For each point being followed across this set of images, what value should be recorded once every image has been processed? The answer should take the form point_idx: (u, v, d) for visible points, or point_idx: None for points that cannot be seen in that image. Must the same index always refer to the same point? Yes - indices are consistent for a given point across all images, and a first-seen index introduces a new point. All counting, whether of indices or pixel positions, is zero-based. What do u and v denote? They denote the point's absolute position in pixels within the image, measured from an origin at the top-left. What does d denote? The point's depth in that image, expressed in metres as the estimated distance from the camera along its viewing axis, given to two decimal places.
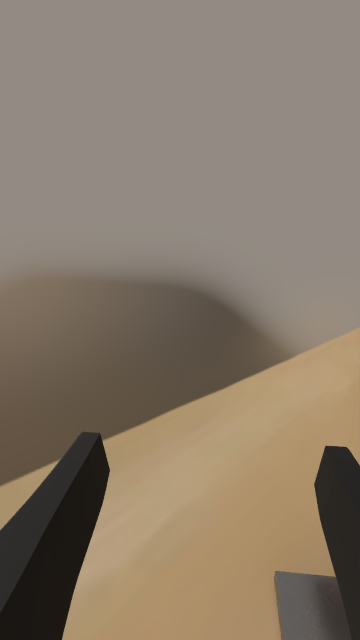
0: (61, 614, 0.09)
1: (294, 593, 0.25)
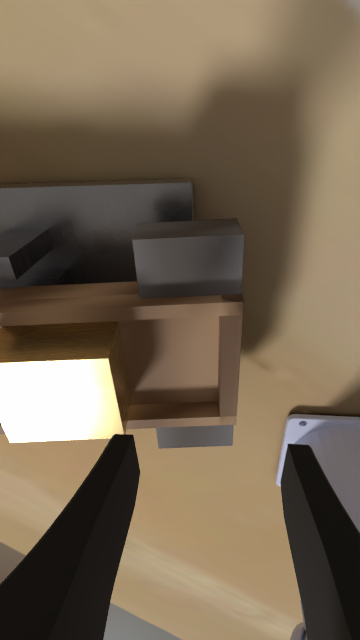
0: (102, 619, 0.09)
1: None
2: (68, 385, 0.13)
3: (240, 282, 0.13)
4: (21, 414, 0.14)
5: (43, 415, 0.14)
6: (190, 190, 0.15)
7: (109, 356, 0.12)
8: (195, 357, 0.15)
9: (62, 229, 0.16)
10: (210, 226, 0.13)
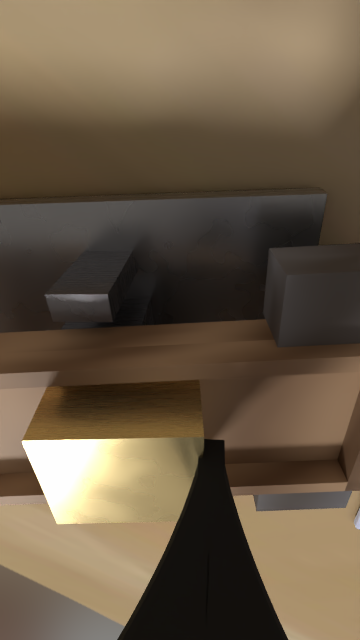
0: None
1: None
2: (143, 466, 0.10)
3: None
4: (77, 495, 0.11)
5: (105, 497, 0.11)
6: (324, 203, 0.12)
7: (203, 432, 0.09)
8: (323, 411, 0.12)
9: (150, 251, 0.13)
10: None
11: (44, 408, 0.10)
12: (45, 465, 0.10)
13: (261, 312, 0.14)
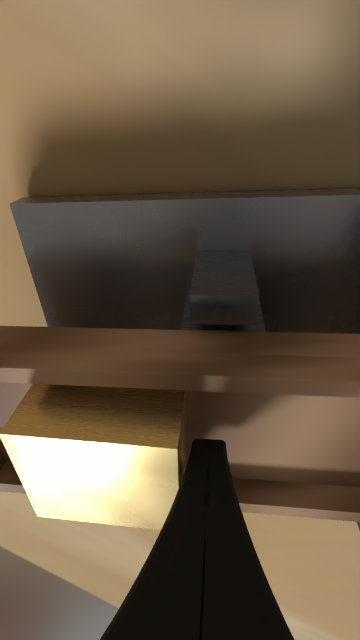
0: None
1: None
2: (118, 471, 0.10)
3: None
4: (54, 492, 0.11)
5: (81, 496, 0.11)
6: None
7: (178, 443, 0.09)
8: None
9: (269, 251, 0.13)
10: None
11: (27, 403, 0.10)
12: (22, 459, 0.10)
13: None
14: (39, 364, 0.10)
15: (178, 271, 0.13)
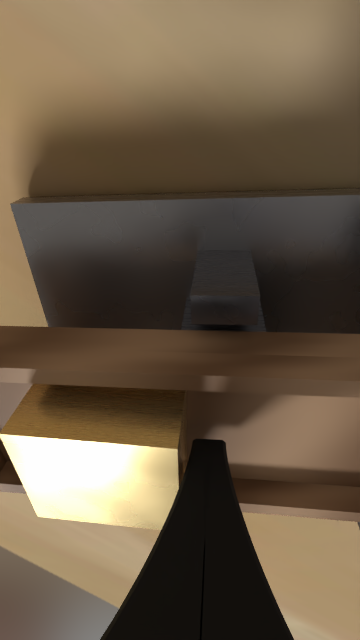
0: None
1: None
2: (118, 471, 0.10)
3: None
4: (54, 492, 0.11)
5: (81, 496, 0.11)
6: None
7: (178, 443, 0.09)
8: None
9: (270, 251, 0.13)
10: None
11: (27, 403, 0.10)
12: (22, 459, 0.10)
13: None
14: (39, 364, 0.10)
15: (179, 271, 0.13)
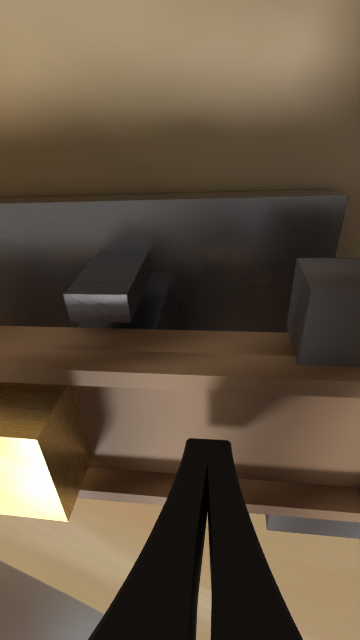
0: (195, 630, 0.08)
1: None
2: None
3: None
4: None
5: None
6: (344, 205, 0.11)
7: (41, 435, 0.10)
8: (346, 435, 0.11)
9: (167, 251, 0.13)
10: None
11: None
12: None
13: (276, 314, 0.14)
14: None
15: None
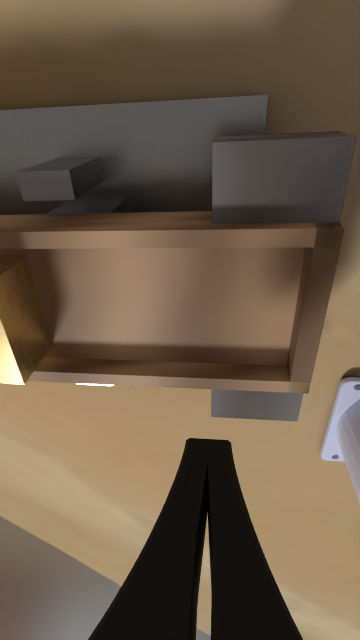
0: (195, 630, 0.08)
1: None
2: None
3: (340, 206, 0.10)
4: None
5: None
6: (266, 104, 0.13)
7: None
8: (267, 306, 0.13)
9: (116, 157, 0.15)
10: (306, 135, 0.10)
11: None
12: None
13: None
14: None
15: None
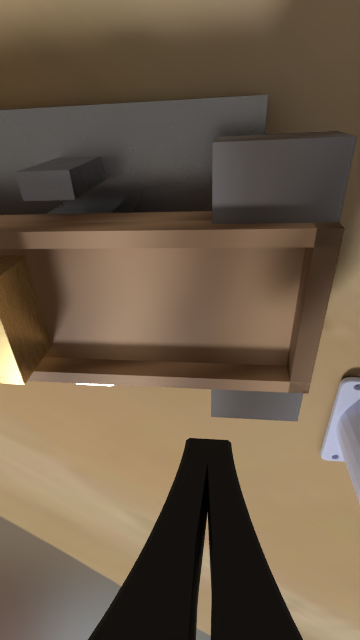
0: (195, 630, 0.08)
1: None
2: None
3: (340, 206, 0.10)
4: None
5: None
6: (266, 104, 0.13)
7: None
8: (267, 306, 0.13)
9: (116, 157, 0.15)
10: (306, 135, 0.10)
11: None
12: None
13: None
14: None
15: None
